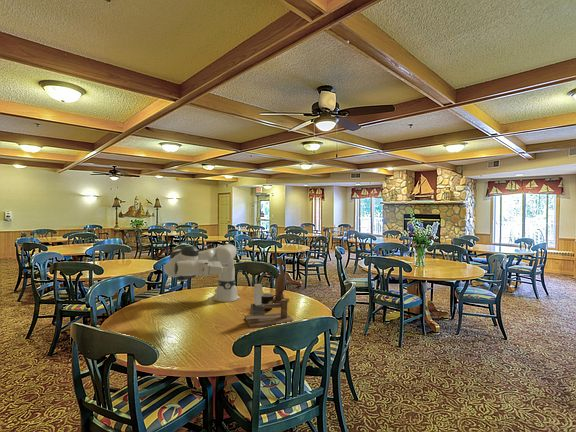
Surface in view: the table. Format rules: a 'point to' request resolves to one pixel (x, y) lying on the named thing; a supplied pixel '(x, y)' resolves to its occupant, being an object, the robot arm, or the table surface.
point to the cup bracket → (268, 315)
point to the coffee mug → (267, 299)
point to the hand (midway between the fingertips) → (229, 266)
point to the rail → (257, 294)
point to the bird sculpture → (280, 283)
